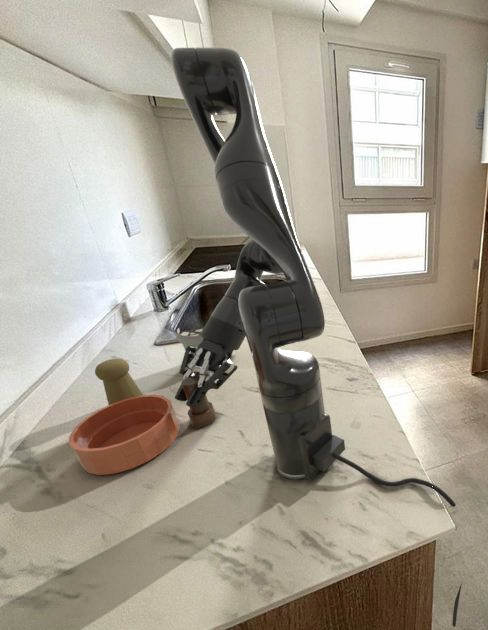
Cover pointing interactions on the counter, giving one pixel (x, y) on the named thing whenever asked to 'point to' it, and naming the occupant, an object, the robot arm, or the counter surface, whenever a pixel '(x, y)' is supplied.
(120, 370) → the olive knobbed tapered cylinder
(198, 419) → the pestle
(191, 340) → the food container
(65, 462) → the counter surface
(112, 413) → the bowl
